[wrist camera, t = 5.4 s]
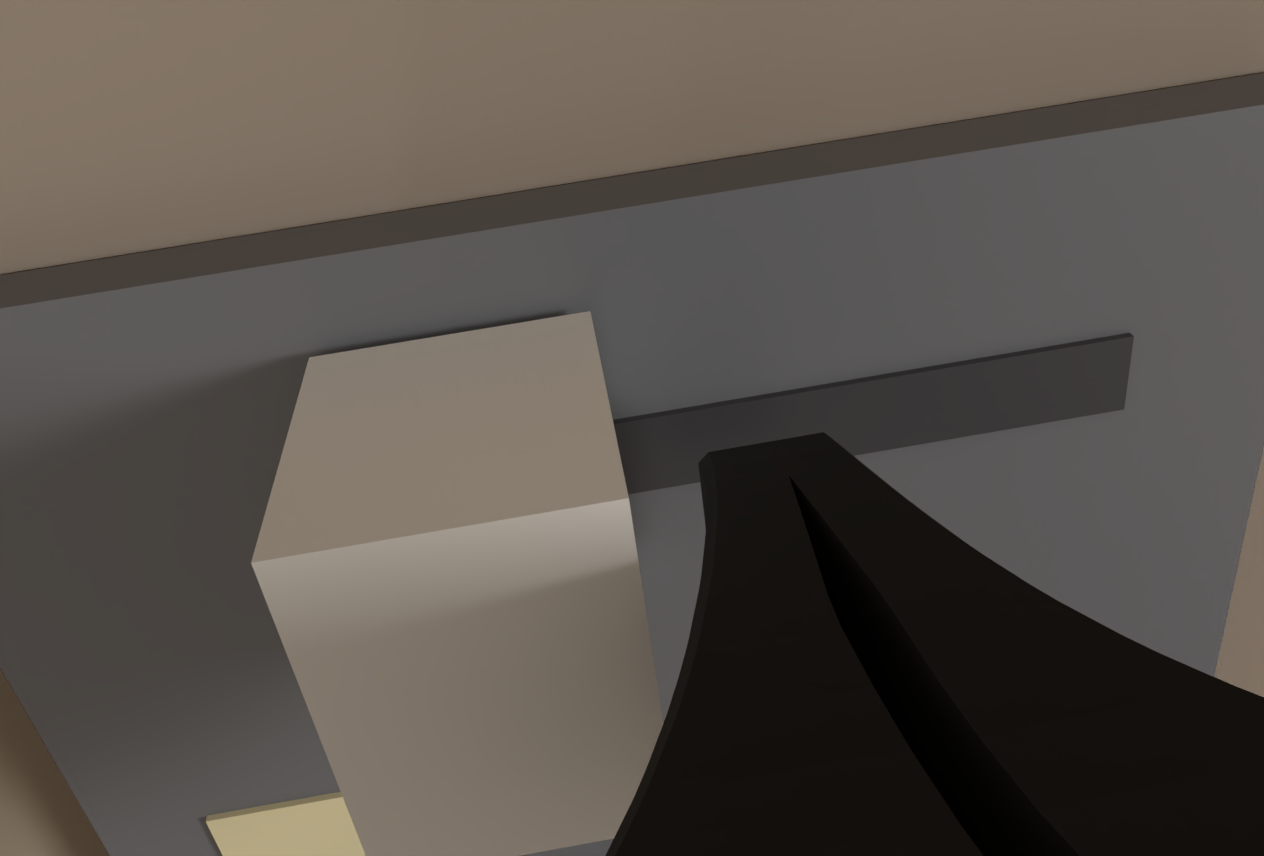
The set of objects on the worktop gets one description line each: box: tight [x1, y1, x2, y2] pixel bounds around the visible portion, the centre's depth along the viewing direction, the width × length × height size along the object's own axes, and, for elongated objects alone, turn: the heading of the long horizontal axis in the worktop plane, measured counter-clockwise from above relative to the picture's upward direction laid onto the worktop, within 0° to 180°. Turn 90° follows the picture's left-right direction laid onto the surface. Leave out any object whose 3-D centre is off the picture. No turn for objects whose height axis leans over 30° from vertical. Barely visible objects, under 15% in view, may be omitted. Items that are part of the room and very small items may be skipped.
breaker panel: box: [0, 73, 1264, 856], centre depth 16 cm, size 16×18×2 cm
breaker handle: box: [251, 311, 663, 856], centre depth 11 cm, size 3×4×4 cm
